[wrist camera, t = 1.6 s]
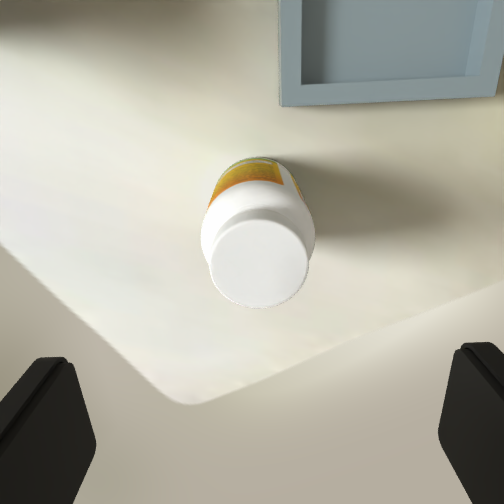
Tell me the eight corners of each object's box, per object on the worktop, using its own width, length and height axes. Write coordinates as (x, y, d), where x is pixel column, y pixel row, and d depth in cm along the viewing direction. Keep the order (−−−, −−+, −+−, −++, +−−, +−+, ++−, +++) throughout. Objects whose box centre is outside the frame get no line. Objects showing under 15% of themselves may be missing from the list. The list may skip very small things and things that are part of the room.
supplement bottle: (197, 207, 23) (164, 279, 15) (247, 137, 22) (243, 171, 13) (264, 252, 25) (270, 345, 16) (316, 190, 23) (356, 254, 14)
